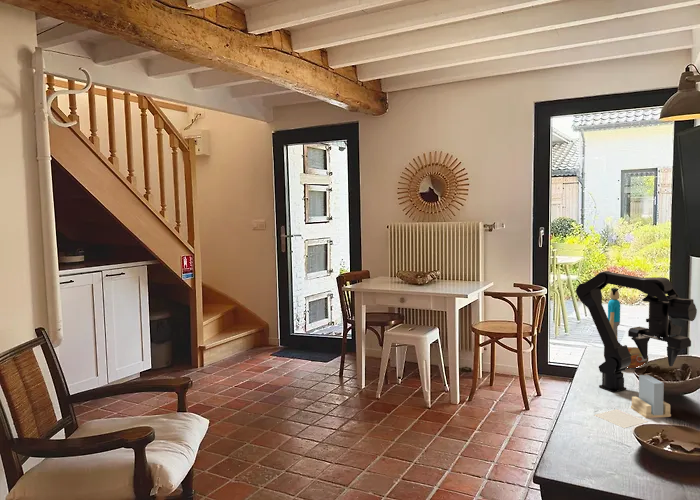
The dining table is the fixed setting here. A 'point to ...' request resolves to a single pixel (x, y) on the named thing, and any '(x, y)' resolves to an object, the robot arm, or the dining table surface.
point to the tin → (636, 357)
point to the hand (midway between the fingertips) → (657, 362)
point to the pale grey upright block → (652, 393)
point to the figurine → (614, 310)
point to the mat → (620, 418)
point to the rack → (648, 408)
